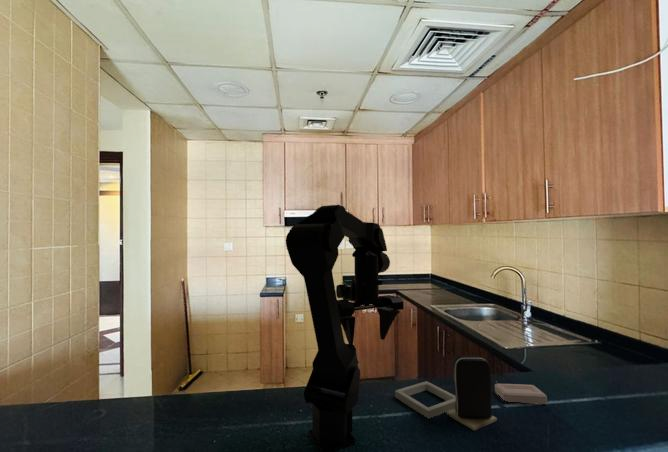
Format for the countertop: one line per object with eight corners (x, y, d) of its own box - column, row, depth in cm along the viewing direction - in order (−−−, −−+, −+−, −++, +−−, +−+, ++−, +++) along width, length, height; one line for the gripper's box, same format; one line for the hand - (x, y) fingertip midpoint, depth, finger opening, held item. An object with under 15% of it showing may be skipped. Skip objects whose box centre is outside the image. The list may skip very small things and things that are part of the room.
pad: (474, 430, 55) (474, 428, 56) (446, 414, 61) (446, 411, 61) (497, 420, 59) (496, 417, 59) (468, 405, 64) (468, 403, 64)
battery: (484, 409, 62) (482, 353, 63) (493, 419, 58) (491, 359, 59) (450, 409, 62) (449, 353, 63) (458, 419, 58) (456, 359, 59)
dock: (428, 418, 59) (428, 411, 60) (395, 397, 68) (395, 390, 68) (461, 406, 64) (461, 399, 64) (426, 387, 73) (426, 381, 73)
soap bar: (494, 392, 71) (493, 382, 71) (534, 394, 70) (533, 383, 70) (505, 404, 66) (504, 393, 66) (548, 406, 65) (547, 395, 65)
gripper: (377, 272, 83) (377, 329, 82) (316, 274, 74) (316, 339, 73) (404, 275, 73) (405, 339, 72) (339, 278, 64) (339, 352, 63)
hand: (366, 342), depth 70 cm, fingers open, 9 cm apart
